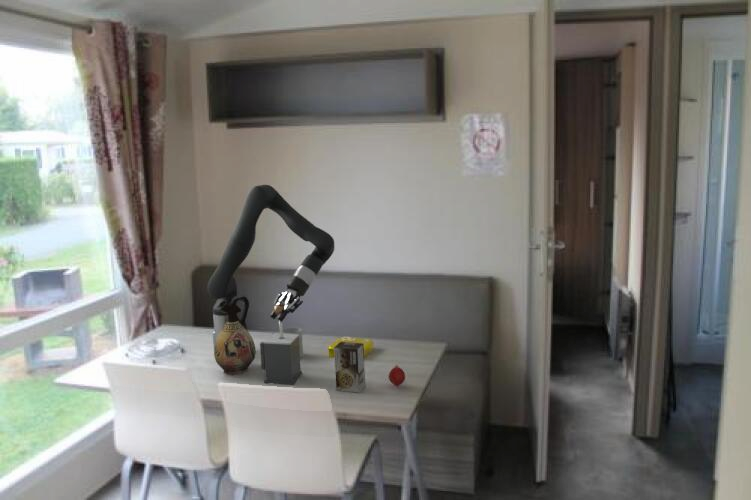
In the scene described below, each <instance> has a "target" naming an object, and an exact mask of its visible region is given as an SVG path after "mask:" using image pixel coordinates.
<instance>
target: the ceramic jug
mask: <svg viewBox="0 0 751 500" xmlns="http://www.w3.org/2000/svg"><path fill="white" fill-rule="evenodd" d="M236 302H237V303H238V302H244V306H243V310H242V309H241V308H240V307H239V306H238V304H237V305H235V303H236ZM249 308H250V301H249V299H248V298H247V296H245V295H242V294H237V296H235V297H234V298H233V299H232V301H231V303H230V304H229V303H227V302H226V301H225V300H223V301H222V302H221V303H220V304H219V305H218V306H217V309H216V311H218V312H223V313H226V314H227V315H228V320H227V322H226V324H225V325H224V327H223V328H222V330H221V332H220V334H219V336H218V338H217V340H216V344H215V350H214V349H213V356H214V359H215V362H216V364H217V366H219V367H220V368H221V369H222V370H223V374H225V375H227V376H237V375H242V374H245V373H247V372H248V371H249V369H250V366H251V364H252V363H253V362H254V361H255V359H256V355H257V354H256V353H257V352H256V344H255V341H254V339H253V337H252V336H251V333H250V332H249V330H248V326H247V324H246V319H247V316H248V312H249ZM241 312H242V313H241ZM238 313H241V317H240V318H239V317H238Z"/></svg>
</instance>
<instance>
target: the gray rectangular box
mask: <svg viewBox="0 0 751 500" xmlns="http://www.w3.org/2000/svg"><path fill="white" fill-rule="evenodd" d="M277 333H278V332H277ZM277 333H272V334H271V335H270V336H268V338H266V339H265V340H264V341H261V342H260V343H259V350H260V363H261V364H260V365H261V370H264V371H265V379H264V381H263V382H264V383H263V384H269V383H273V384H274V385H295V383H296V382H297V381H298V379H299V378H300V377H301V376H302V375H303V370H301V358H300V349H299V334H283V339H280V334H277Z"/></svg>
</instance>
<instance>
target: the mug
mask: <svg viewBox="0 0 751 500" xmlns="http://www.w3.org/2000/svg"><path fill="white" fill-rule="evenodd" d="M277 334H280V333H279V332H277ZM283 334H299V349H300V359H301V358H302V357H304V344H303V329H302V328H301V327H298V326H297V327H296V326H292V327H291V326H290V327H285V328H283Z"/></svg>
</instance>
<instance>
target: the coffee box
mask: <svg viewBox="0 0 751 500" xmlns="http://www.w3.org/2000/svg"><path fill="white" fill-rule="evenodd" d="M334 356H335V358H334V368H335V371H334V372H335V387H336V388H335V391H338V392H350V393H359V394H360V393H361V392H362V391H363V390H364V388H366V377H365V376H366V373H365V372H366V371H365V370H366V369H365V358H364V345H363V343H350V342H340V343H338V344H337V345H336V346H335V347H334Z"/></svg>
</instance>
